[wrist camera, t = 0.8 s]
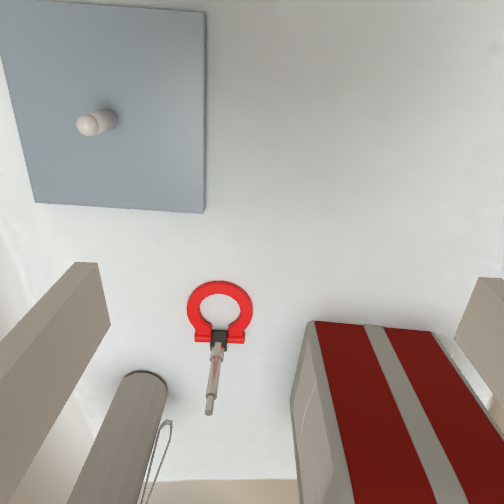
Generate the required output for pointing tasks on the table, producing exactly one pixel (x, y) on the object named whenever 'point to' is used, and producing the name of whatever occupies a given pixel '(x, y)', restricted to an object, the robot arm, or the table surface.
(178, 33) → the pin plate
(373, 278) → the table surface
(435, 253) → the table surface
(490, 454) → the striped mailbox
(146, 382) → the water bottle
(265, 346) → the table surface
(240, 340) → the tow hook
